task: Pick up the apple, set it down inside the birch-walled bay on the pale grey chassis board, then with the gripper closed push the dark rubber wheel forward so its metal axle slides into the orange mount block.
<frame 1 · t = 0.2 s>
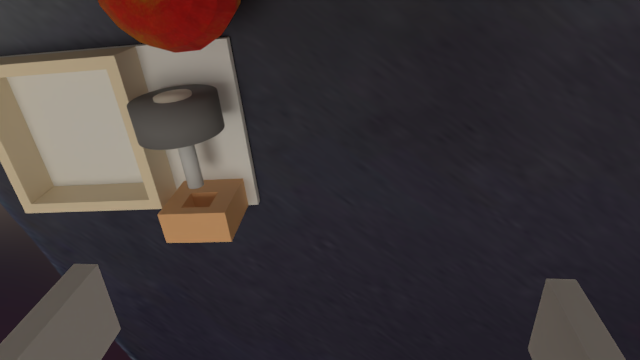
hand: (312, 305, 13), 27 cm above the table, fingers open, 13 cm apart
wheel: (184, 142, 36), point 5 cm above the table, slide at 0.0 cm
chassis: (134, 132, 41), on the table
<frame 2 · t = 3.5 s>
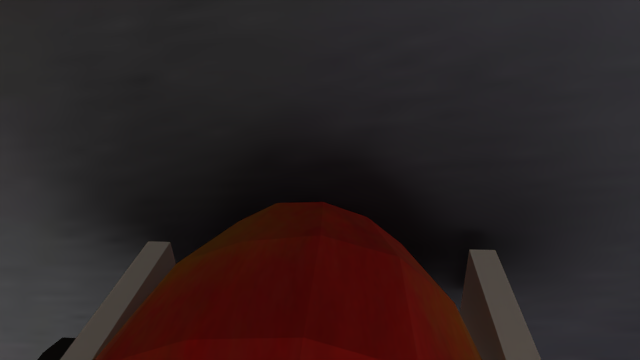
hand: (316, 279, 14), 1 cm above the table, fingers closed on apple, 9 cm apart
apple: (320, 254, 15), on the table, touching gripper
when the fingers open (5 cm above the table, at t = 8.1 s): apple drops 4 cm, resting on chassis.
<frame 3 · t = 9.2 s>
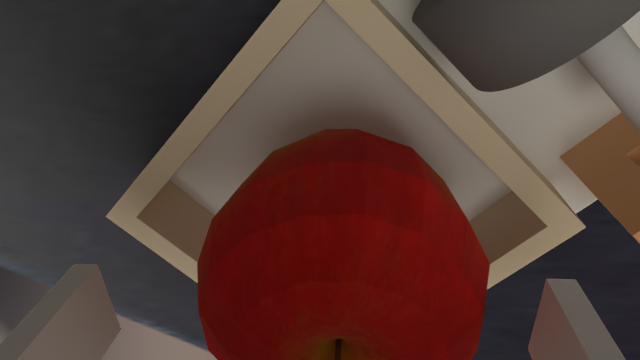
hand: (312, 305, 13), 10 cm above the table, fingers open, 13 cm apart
apple: (345, 178, 21), point 1 cm above the table, touching chassis
wheel: (585, 26, 13), point 5 cm above the table, slide at 0.0 cm
chassis: (412, 135, 20), on the table
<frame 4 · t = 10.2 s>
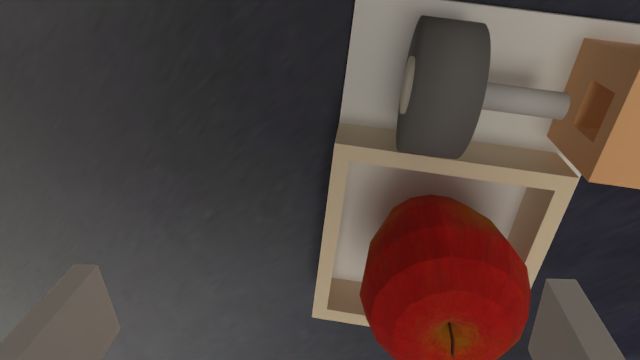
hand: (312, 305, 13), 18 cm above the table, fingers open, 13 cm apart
apple: (426, 221, 31), point 1 cm above the table, touching chassis
wheel: (483, 95, 23), point 5 cm above the table, slide at 0.0 cm
chassis: (449, 174, 30), on the table
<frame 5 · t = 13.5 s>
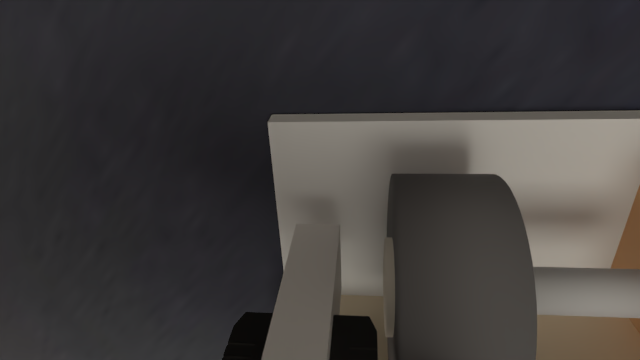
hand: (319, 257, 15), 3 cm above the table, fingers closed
wheel: (522, 289, 13), point 5 cm above the table, slide at 0.8 cm, touching gripper
chassis: (461, 334, 20), on the table
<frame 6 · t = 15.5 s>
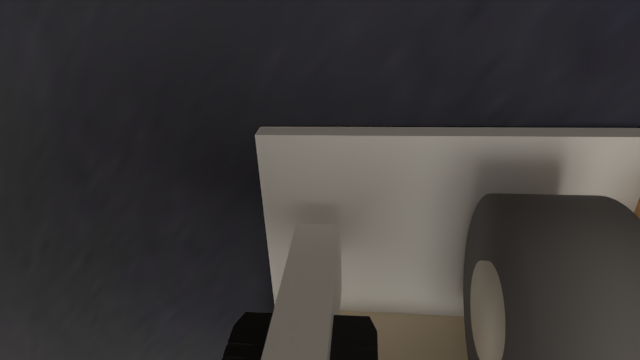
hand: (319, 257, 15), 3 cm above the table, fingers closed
wheel: (632, 319, 12), point 5 cm above the table, slide at 4.0 cm
chassis: (454, 351, 20), on the table
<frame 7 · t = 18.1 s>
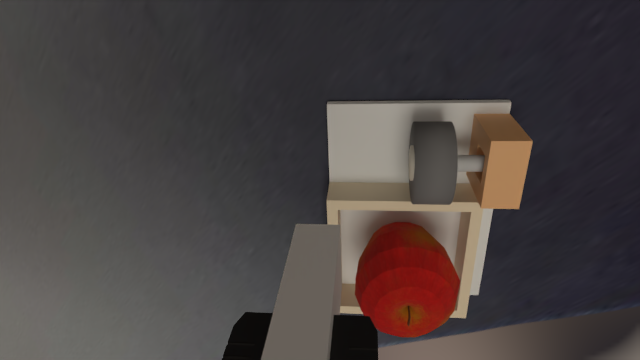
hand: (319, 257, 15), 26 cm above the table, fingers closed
apple: (400, 237, 45), point 1 cm above the table, touching chassis
wheel: (459, 163, 36), point 5 cm above the table, slide at 4.0 cm
chassis: (409, 205, 44), on the table
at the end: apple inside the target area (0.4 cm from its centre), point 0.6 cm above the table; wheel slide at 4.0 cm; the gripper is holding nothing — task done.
